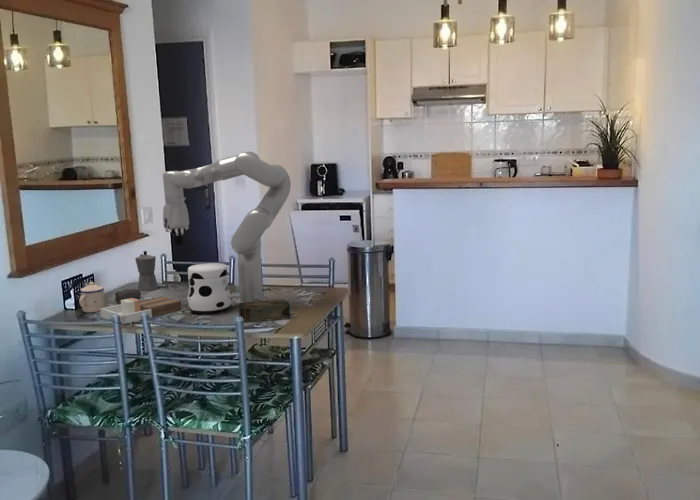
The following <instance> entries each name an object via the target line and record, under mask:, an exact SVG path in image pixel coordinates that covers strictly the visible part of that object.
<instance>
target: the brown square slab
mask: <svg viewBox="0 0 700 500" xmlns="http://www.w3.org/2000/svg"><path fill="white" fill-rule="evenodd" d="M140 307H141V311H144V310H148V309H151V311H152V318H153V317H157V316H160V315H165V314H170V313H173V312H174V313H175V312H178V310H179V311H182V302H181V300H176V299H173V298H169V297H166V296H158V297H153V298H150V299H144V300H140Z"/></svg>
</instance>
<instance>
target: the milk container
mask: <svg viewBox="0 0 700 500" xmlns="http://www.w3.org/2000/svg"><path fill="white" fill-rule="evenodd" d="M187 276H188V280H187V281H188V293H187V298H186V300H187V306H188V308H189V310H190V311H192V312H194V313H200V314H205V313H206V314H210V313H211V314H212V313H218V312H221V311H224V310H227V309H228V308H229V307H230V306H231V303H232V294H231V290H230V288H229V275H228V266H227V264H225V263H221V262H219V263H218V262H210V263H209V262H207V263H198V264H192V265H191V266H189V267H188V268H187Z"/></svg>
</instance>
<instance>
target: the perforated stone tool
mask: <svg viewBox="0 0 700 500" xmlns="http://www.w3.org/2000/svg"><path fill="white" fill-rule="evenodd" d="M114 295H115V297H114V299H115V303H116V305H119V304H121V300H125V299H129V298H134V299H138V300H140V299H141V298H142V292H141V291H140V290H138V288H128V289H123V290H118V291H116V292H115V294H114Z"/></svg>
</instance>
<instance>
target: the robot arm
mask: <svg viewBox="0 0 700 500" xmlns="http://www.w3.org/2000/svg"><path fill="white" fill-rule="evenodd" d="M240 176H246V177H248V178H250V179H252V180H253V181H255V182H257V183H258V184H261V185H262V186H265V187H267V188H268V187H269V188H268V190H267V191H266V193H265V194H264V195H263V197H262V199H261V201H260V202H259V203H258V205H256V207H255V208H254V209H251V210H250V211H249V212H248V213H247V214H246V216H244V218H243V220H242V221H241V223H240V224H239V226H238V227H237V229H236V230H235V232H234V233H233V235H232V236H231V241H230V245H231V249H232V250H233V251H234V252H235V253H236V254H237V271H238V290H239V298H238V299H237V300H235V303H236V305H238V306H239V303H242V302H255V301H268V300H267V299H268V297H267V296H265V294H264V292H263V279H262V278H263V276H262V253H261V252H262V238H261V237H262V236H263V234H264V233H265V231H266V230H268V229H269V228H270V227H271V226H272V225H273V224H272V223H273V222H274V220H275V219H276V217H277V215H279V213H280V211H281V209H282V208H283V206H284V204H285V203H286V201H287V199H288V197H289V195H290V193H291V188H292V186H291V184H292V183H291V182H292V181H291V178H290V175H289V173H288V171H287V170H286V168H284V167H283V166H282V165H279V164H270V163H268V162H266V161H264V160H262V159H261V158H260V157H259V155H258V154H257V153H255V152H254V151H243V152H242V151H241V152H240V153H238V154H235V155H231V156H228V157H225V158H224V157H223V158H220V159H217V160H216V161H215V162H213V163H210V164H206V165H204V166H201V167H196V168H191V169H185V170H181V171H180V170H169V171H164V172H163V174H162V181H163V190H164V191H163V193H164V201H165V204H164V205H163V208H162V211H163V212H162V224H163V228H164V229H165V232H166V233H170V234H172V236H173V239H174V245H175V246H180V245H181V246H182V245H184V243H183V242H184V239H183V235H184V232H185V231H187V230H189V229H190V226H189V225H190V219H189V218H190V217H189V212H188V208H187V205H186V203H185V201H186V200H187V198H186V196H184V189H193V188H197V187H201V186H205V185H208V184H212V183H216V182H218V181H220V182H221V181H226V180H230V179H233V178H236V177H240Z"/></svg>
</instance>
